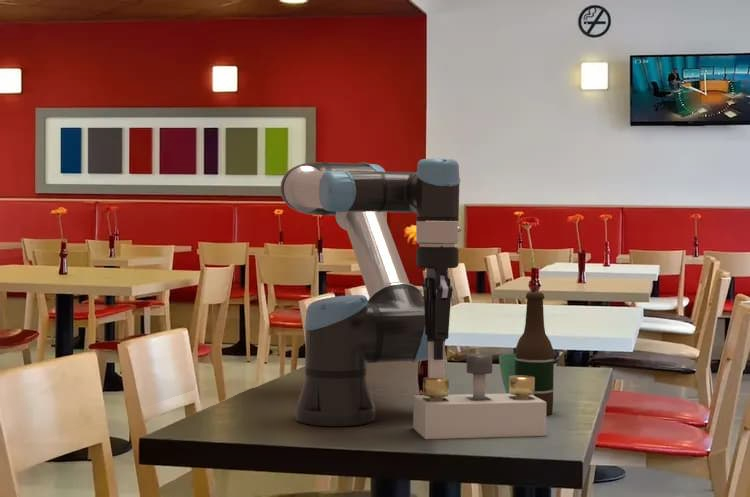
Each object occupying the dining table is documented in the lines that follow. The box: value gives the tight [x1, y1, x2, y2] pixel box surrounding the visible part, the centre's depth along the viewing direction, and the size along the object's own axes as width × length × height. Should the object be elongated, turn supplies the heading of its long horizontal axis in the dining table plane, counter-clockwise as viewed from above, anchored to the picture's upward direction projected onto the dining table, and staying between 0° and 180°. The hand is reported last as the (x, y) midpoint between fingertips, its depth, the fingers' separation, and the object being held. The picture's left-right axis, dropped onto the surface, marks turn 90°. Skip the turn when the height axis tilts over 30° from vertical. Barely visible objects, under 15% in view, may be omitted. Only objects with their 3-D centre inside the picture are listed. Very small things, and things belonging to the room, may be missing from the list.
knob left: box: [422, 376, 450, 402], centre depth 194 cm, size 5×5×8 cm
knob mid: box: [466, 353, 493, 401], centre depth 195 cm, size 5×5×8 cm
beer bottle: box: [514, 291, 555, 416], centre depth 214 cm, size 8×8×24 cm
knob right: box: [509, 375, 535, 400], centre depth 196 cm, size 5×5×8 cm
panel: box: [412, 393, 547, 440], centre depth 195 cm, size 22×10×6 cm, turn 100°
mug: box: [498, 353, 515, 394], centre depth 226 cm, size 15×10×10 cm
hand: (436, 377), depth 193 cm, fingers closed
